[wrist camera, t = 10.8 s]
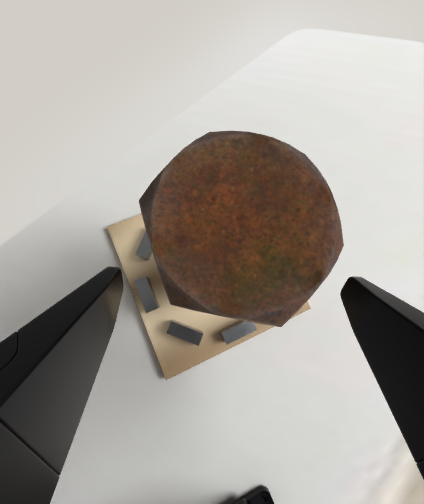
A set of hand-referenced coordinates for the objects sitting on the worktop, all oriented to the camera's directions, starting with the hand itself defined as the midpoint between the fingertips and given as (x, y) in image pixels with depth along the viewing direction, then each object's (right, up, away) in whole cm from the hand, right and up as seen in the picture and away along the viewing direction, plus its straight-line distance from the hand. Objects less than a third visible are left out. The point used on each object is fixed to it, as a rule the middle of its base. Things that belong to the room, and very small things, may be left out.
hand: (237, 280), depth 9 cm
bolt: (-1, -1, +12) cm, 12 cm away
